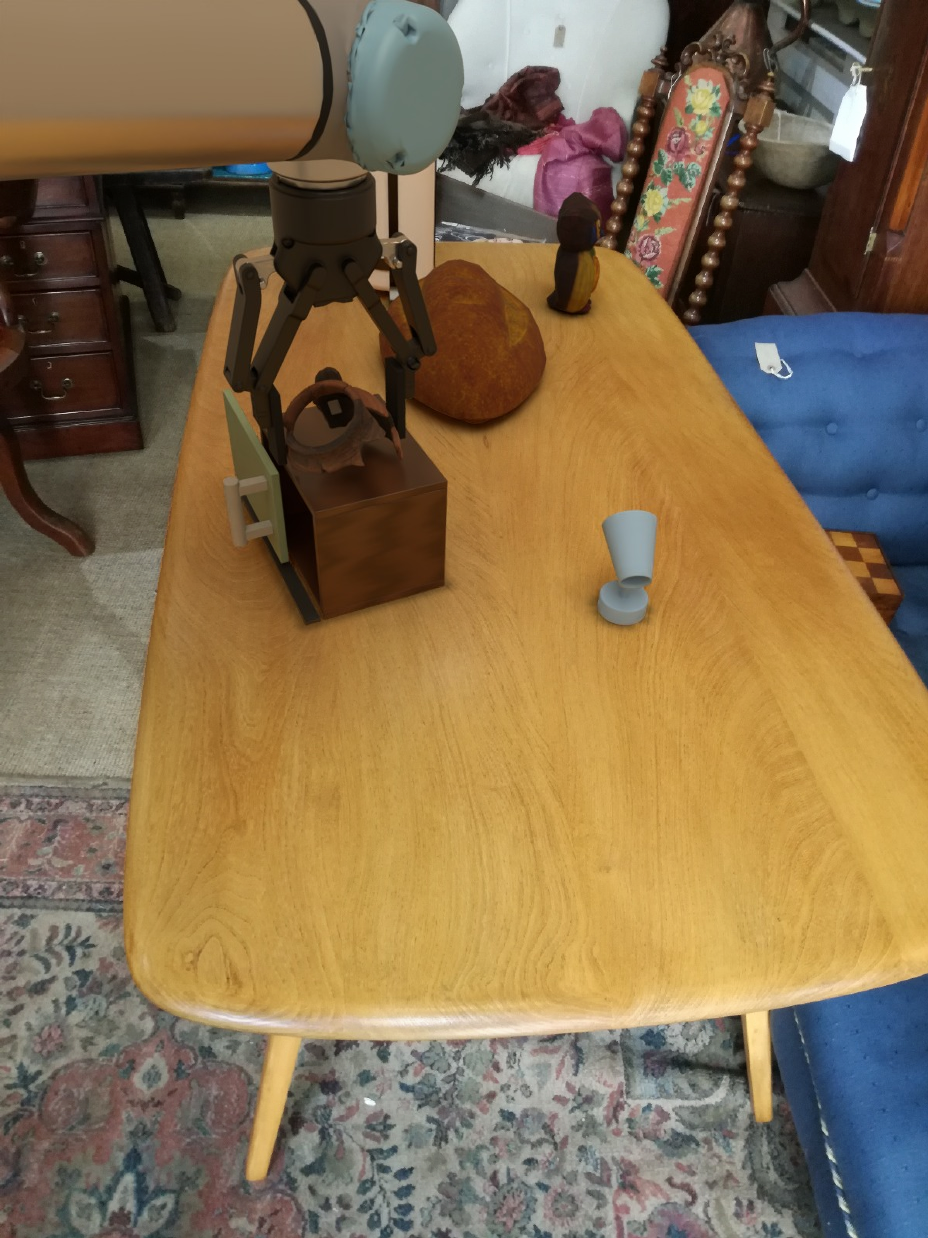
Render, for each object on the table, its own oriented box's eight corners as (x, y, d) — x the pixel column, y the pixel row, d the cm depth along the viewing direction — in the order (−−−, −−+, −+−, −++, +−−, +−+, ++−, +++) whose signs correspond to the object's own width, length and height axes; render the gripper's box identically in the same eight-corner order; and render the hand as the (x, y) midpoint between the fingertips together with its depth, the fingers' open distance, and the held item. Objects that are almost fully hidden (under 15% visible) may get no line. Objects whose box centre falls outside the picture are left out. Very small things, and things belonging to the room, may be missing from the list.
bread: (375, 434, 107) (372, 333, 99) (381, 309, 131) (379, 219, 123) (557, 436, 108) (570, 336, 100) (530, 312, 132) (538, 223, 124)
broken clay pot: (424, 480, 80) (388, 426, 73) (329, 530, 81) (283, 482, 74) (382, 383, 86) (344, 324, 79) (293, 431, 87) (248, 378, 80)
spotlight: (589, 581, 90) (599, 631, 85) (604, 495, 83) (616, 544, 78) (640, 581, 90) (653, 630, 85) (658, 496, 83) (675, 544, 78)
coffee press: (337, 264, 142) (324, 35, 121) (442, 266, 143) (447, 40, 122) (328, 314, 129) (312, 69, 109) (443, 317, 130) (449, 74, 110)
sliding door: (241, 574, 87) (227, 485, 80) (199, 482, 97) (183, 396, 90) (289, 561, 88) (279, 473, 82) (242, 473, 99) (230, 388, 92)
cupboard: (305, 625, 84) (294, 517, 75) (241, 498, 97) (225, 395, 89) (444, 585, 88) (448, 480, 80) (364, 469, 102) (360, 369, 94)
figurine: (593, 325, 130) (609, 215, 120) (543, 321, 130) (555, 210, 120) (595, 296, 137) (610, 189, 127) (548, 291, 137) (559, 185, 127)
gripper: (172, 209, 59) (220, 496, 74) (489, 171, 67) (474, 439, 82) (147, 171, 64) (197, 448, 79) (445, 140, 72) (439, 398, 87)
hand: (338, 443), depth 81 cm, fingers closed on broken clay pot, 10 cm apart
